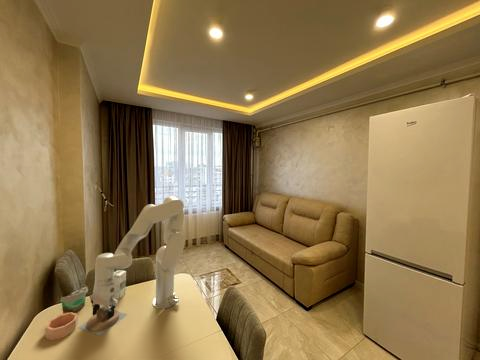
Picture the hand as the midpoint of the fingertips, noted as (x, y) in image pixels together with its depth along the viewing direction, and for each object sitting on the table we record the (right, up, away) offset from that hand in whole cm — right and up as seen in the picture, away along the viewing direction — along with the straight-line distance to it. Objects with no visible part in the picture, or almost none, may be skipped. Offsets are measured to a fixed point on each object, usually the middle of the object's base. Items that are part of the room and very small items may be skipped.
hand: (103, 315), depth 94 cm
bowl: (-14, -3, -6) cm, 16 cm away
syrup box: (-5, -3, +19) cm, 20 cm away
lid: (0, -3, 0) cm, 3 cm away
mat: (0, -3, 0) cm, 3 cm away
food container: (-19, -3, +7) cm, 20 cm away
